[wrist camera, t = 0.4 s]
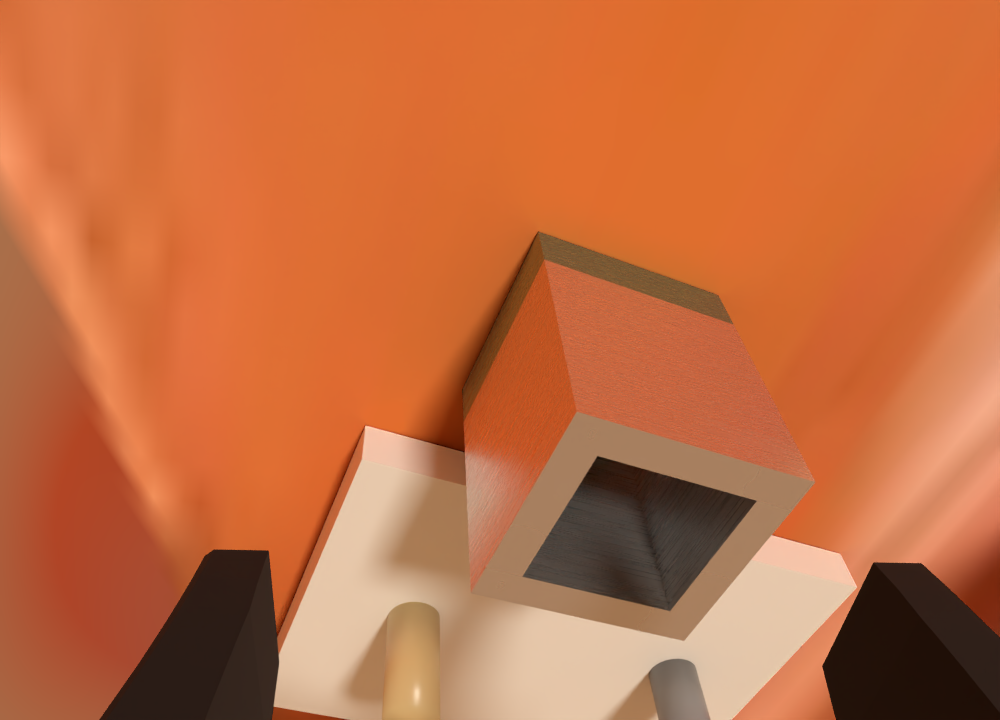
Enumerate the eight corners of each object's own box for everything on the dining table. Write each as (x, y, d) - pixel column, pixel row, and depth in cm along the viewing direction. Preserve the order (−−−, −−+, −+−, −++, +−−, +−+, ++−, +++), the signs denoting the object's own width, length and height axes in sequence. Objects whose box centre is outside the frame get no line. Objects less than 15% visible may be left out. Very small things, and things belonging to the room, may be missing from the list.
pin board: (839, 553, 24) (906, 685, 21) (669, 742, 30) (700, 872, 26) (365, 425, 21) (351, 559, 17) (264, 667, 26) (238, 808, 22)
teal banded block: (718, 295, 19) (815, 482, 14) (627, 437, 21) (683, 641, 16) (538, 231, 18) (576, 412, 13) (462, 389, 20) (470, 593, 15)
